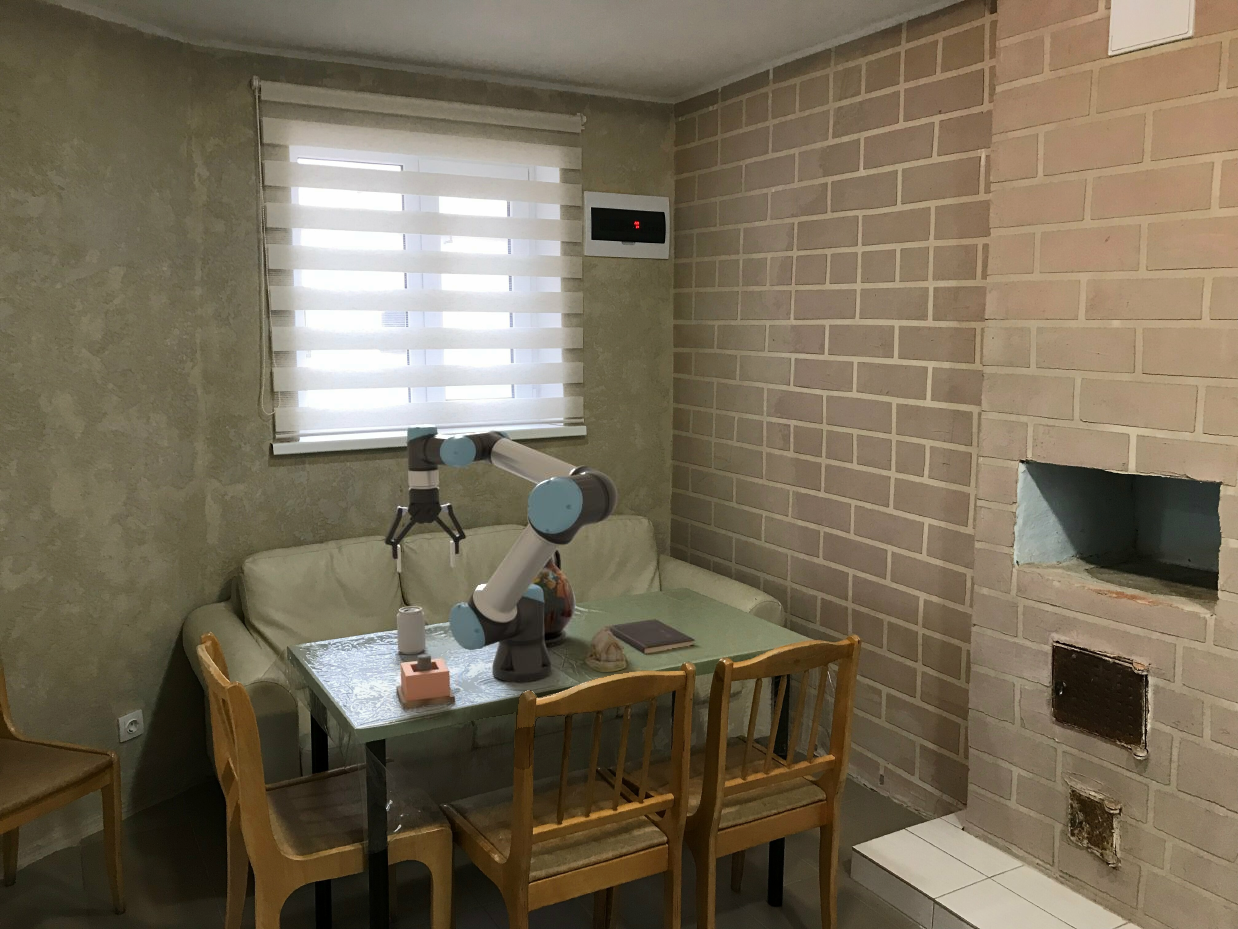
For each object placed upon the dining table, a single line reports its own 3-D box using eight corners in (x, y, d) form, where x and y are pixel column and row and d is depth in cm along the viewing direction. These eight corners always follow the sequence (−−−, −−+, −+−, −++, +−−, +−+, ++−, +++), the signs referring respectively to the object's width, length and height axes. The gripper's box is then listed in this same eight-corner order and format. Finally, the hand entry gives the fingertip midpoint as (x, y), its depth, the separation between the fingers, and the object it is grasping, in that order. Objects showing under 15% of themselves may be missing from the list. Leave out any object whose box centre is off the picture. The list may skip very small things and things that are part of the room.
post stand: (446, 685, 239) (445, 646, 238) (455, 702, 228) (453, 661, 226) (396, 692, 235) (395, 652, 234) (403, 709, 224) (401, 667, 222)
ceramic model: (580, 657, 260) (580, 621, 259) (620, 653, 263) (620, 617, 262) (593, 674, 247) (593, 636, 246) (635, 670, 250) (635, 632, 249)
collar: (442, 681, 237) (442, 658, 237) (450, 695, 228) (449, 671, 227) (401, 687, 234) (400, 662, 233) (406, 701, 225) (406, 676, 224)
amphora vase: (541, 657, 260) (539, 554, 257) (484, 642, 273) (481, 545, 270) (591, 637, 277) (590, 541, 274) (535, 625, 290) (533, 533, 287)
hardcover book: (655, 626, 290) (655, 618, 290) (694, 647, 270) (694, 639, 269) (607, 633, 283) (607, 626, 283) (643, 656, 263) (643, 647, 262)
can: (411, 645, 272) (409, 603, 270) (431, 649, 268) (430, 607, 266) (392, 652, 265) (390, 609, 264) (412, 657, 261) (411, 613, 260)
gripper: (470, 481, 252) (472, 561, 255) (371, 487, 244) (374, 569, 246) (475, 485, 245) (477, 568, 248) (374, 491, 237) (377, 576, 239)
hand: (426, 569), depth 247 cm, fingers open, 13 cm apart
